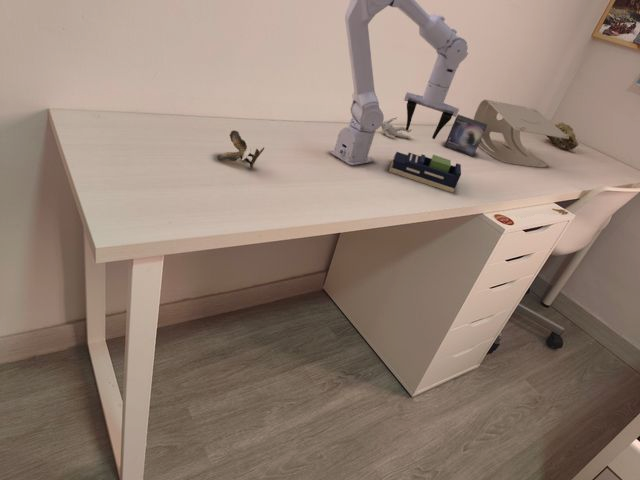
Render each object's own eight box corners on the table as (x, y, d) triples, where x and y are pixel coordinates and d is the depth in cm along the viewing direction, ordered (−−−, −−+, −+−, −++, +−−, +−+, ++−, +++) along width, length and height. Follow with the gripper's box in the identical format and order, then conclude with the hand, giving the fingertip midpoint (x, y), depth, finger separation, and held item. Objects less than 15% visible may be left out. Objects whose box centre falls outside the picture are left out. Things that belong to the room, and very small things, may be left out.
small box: (443, 146, 154) (455, 117, 149) (445, 142, 160) (457, 113, 154) (473, 157, 152) (486, 128, 147) (474, 152, 158) (487, 124, 152)
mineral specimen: (577, 150, 201) (589, 129, 196) (571, 154, 191) (584, 132, 186) (546, 138, 207) (557, 117, 202) (538, 141, 198) (550, 119, 193)
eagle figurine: (263, 157, 106) (231, 138, 106) (265, 140, 99) (231, 120, 100) (246, 181, 103) (212, 161, 103) (247, 164, 96) (211, 143, 96)
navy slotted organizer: (452, 182, 127) (460, 164, 124) (452, 192, 120) (461, 174, 117) (392, 161, 129) (398, 144, 126) (388, 171, 121) (395, 152, 119)
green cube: (443, 182, 121) (450, 166, 118) (425, 177, 121) (432, 160, 119) (443, 176, 125) (450, 160, 123) (426, 170, 126) (433, 154, 123)
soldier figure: (409, 145, 150) (383, 129, 144) (399, 149, 154) (373, 134, 148) (412, 124, 152) (386, 108, 146) (402, 129, 156) (376, 114, 150)
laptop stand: (513, 143, 182) (531, 106, 174) (554, 169, 164) (576, 129, 156) (462, 136, 173) (479, 96, 165) (500, 163, 154) (521, 119, 146)
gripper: (465, 90, 120) (445, 138, 127) (413, 73, 121) (397, 122, 128) (465, 94, 114) (445, 144, 121) (411, 77, 115) (394, 127, 122)
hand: (420, 133), depth 124 cm, fingers open, 7 cm apart
